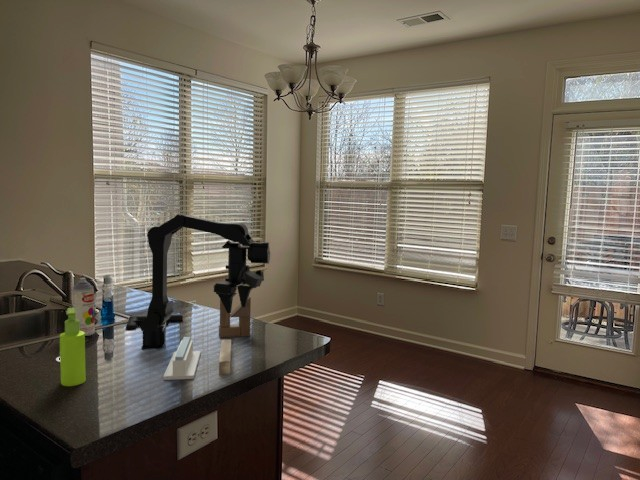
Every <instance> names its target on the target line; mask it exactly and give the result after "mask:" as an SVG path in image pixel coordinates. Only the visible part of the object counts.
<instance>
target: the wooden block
mask: <svg viewBox="0 0 640 480" xmlns="http://www.w3.org/2000/svg"><path fill="white" fill-rule="evenodd" d="M251 300H252V298H251V296H250V295H249V297H248V300H247V303H246V306H245V307H242V305H241V302H240V303H239V304H238V306H236V307H235V308H234V309H233V310H231V313H227V311H226V309H225V307H224V305H223V303H222V301H221V299H220V298H219V325H218V335H219V338H220V339H221V338H222V339H224V338H231V337H232V338H233V337H234V338H235V337H250V336H251V309H252V308H251V307H252V306H251V304H252V303H251ZM231 318H238V324H231Z"/></svg>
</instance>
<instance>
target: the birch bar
mask: <svg viewBox="0 0 640 480" xmlns="http://www.w3.org/2000/svg"><path fill="white" fill-rule="evenodd" d="M231 357H232V339H230V338H229V339H221V344H220V352H219V359H218V375H230V374H231V361H232V360H231Z"/></svg>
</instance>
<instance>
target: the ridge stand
mask: <svg viewBox="0 0 640 480" xmlns="http://www.w3.org/2000/svg"><path fill="white" fill-rule="evenodd" d="M191 338H192V337H191V336H183V338H182V339H180V340H181V341H180V342H179V344H178V347H177V350H176V351H174V352H173V354H172V356H171V359H170V361H169V363H168V366H167V368H166V370H165V372H164V374H163V377H162V379H163V381H168V380H169V381H170V380H171V381H172V380H173V381H174V380H194V379H195V376H196V372H197V368H198V365H199V361H200V358H201V355H202V354H201V353H202V351H201V350H194V340H193V339H191Z"/></svg>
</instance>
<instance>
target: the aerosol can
mask: <svg viewBox="0 0 640 480" xmlns="http://www.w3.org/2000/svg"><path fill="white" fill-rule="evenodd" d="M86 278H87V277H80V278H79V280H78V282H77V283H76V284H75V285H74V286H72V288H71V299H72V302H71V303H72V304H71V305H72V306H71V308H74V307H76V311H75V313H76V319H78V320H79V331H83V332H85V336H89V337H92V336H94V335H95V331H96V330H95V329H96V328H95V323H96V322H95V289H94V285H91V283H90V282H89V281H87V280H86ZM93 334H94V335H93ZM91 335H92V336H91Z"/></svg>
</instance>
